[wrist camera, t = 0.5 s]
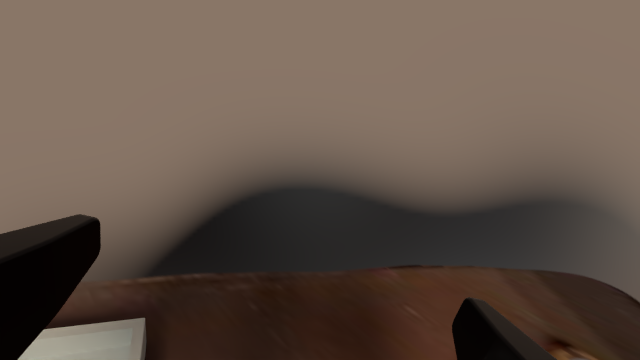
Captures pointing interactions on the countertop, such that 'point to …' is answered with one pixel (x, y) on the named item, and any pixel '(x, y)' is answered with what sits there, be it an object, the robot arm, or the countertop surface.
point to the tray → (91, 342)
